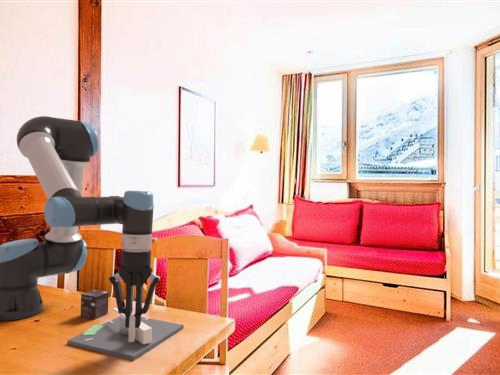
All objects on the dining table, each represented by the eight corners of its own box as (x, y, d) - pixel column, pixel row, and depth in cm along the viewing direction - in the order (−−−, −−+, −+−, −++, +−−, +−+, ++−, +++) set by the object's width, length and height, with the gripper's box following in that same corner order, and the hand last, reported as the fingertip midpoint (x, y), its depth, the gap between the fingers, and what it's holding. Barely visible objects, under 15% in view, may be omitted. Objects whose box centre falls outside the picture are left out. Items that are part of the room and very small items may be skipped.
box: (79, 317, 116) (80, 294, 116) (94, 311, 122) (94, 289, 122) (94, 320, 114) (94, 296, 114) (108, 313, 119) (109, 291, 119)
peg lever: (105, 322, 108) (105, 309, 108) (121, 318, 112) (122, 305, 112) (138, 346, 93) (138, 331, 93) (156, 341, 96) (156, 326, 96)
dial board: (64, 343, 97) (64, 338, 97) (123, 316, 118) (123, 312, 118) (134, 360, 88) (134, 355, 88) (184, 327, 109) (184, 323, 109)
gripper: (106, 251, 91) (102, 345, 91) (158, 252, 92) (154, 346, 92) (115, 246, 98) (111, 333, 98) (163, 248, 99) (159, 334, 99)
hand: (132, 339), depth 95 cm, fingers closed
